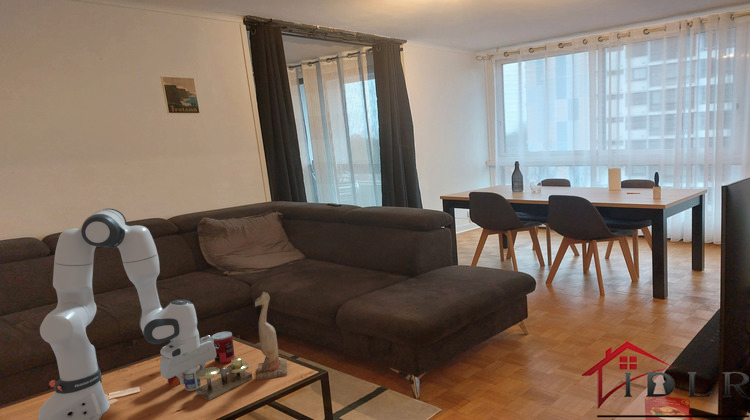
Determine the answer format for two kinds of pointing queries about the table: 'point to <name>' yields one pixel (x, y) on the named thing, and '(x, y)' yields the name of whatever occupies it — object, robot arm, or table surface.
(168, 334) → the robot arm
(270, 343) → the bird sculpture
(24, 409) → the table surface
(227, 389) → the balance
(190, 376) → the pill bottle
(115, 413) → the table surface
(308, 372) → the table surface
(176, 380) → the paper cup
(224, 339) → the canned food
